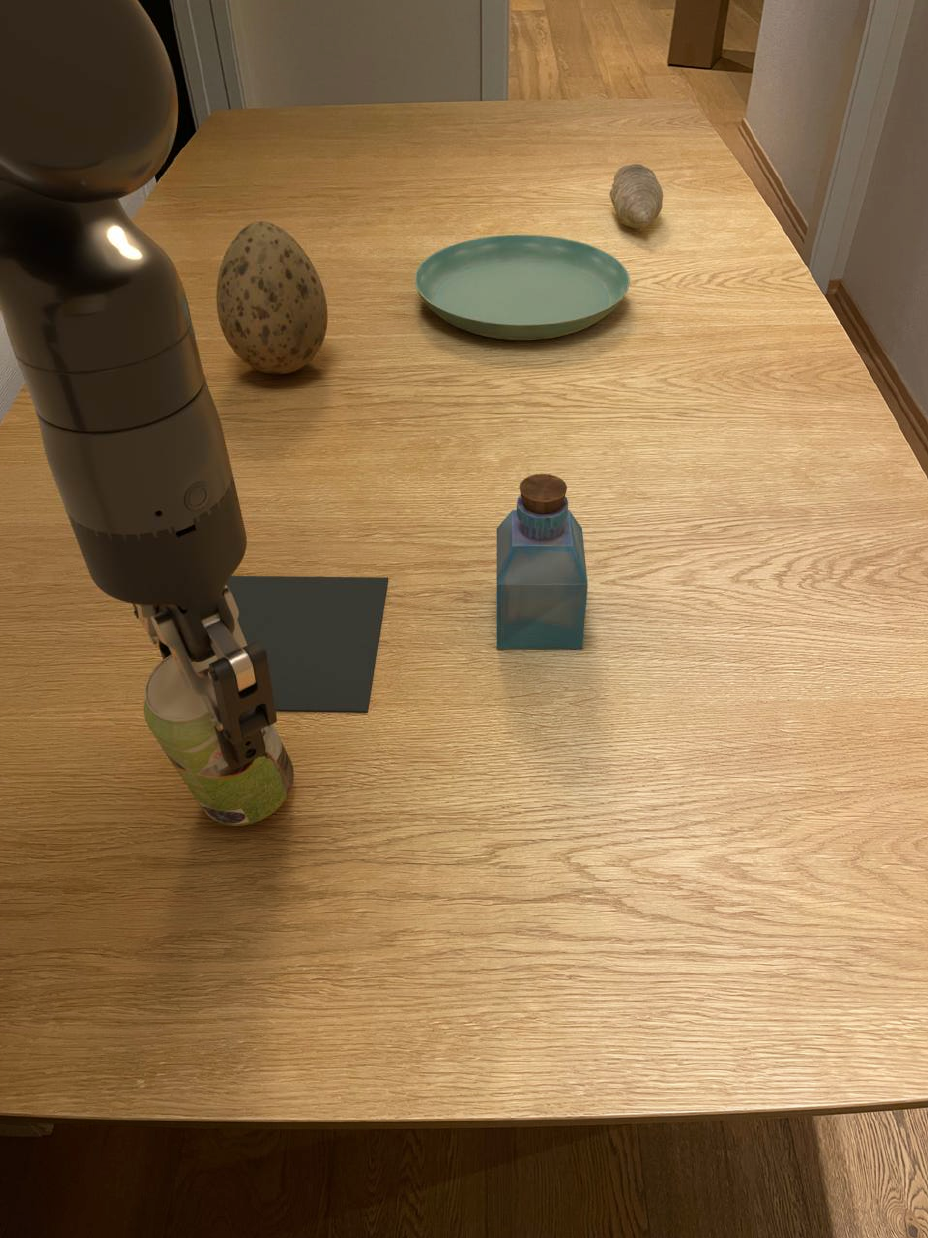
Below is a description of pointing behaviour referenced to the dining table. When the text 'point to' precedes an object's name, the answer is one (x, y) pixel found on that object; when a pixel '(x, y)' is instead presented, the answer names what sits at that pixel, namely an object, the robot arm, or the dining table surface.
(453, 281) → the saucer
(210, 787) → the beverage can
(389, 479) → the dining table surface
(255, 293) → the decorative egg
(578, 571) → the perfume bottle
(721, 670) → the dining table surface
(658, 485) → the dining table surface
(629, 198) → the seashell
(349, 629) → the mat
